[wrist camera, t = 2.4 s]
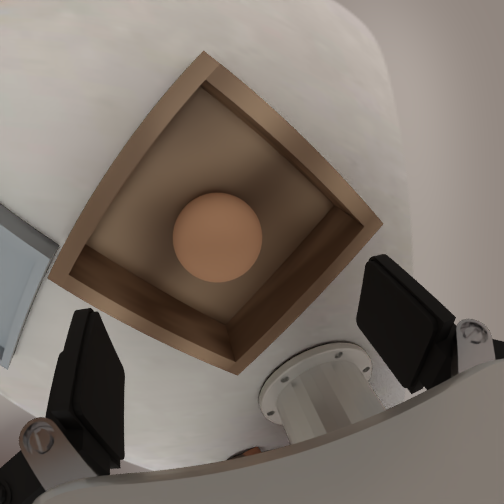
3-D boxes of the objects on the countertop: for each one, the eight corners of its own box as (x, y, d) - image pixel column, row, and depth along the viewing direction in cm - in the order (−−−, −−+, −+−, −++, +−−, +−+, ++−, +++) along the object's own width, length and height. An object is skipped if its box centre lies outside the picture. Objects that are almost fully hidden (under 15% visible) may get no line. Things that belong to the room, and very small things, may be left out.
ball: (266, 213, 20) (293, 246, 16) (217, 270, 21) (231, 314, 17) (205, 166, 18) (217, 188, 14) (156, 230, 19) (153, 269, 15)
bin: (348, 200, 22) (383, 223, 18) (226, 334, 25) (237, 375, 21) (196, 63, 16) (203, 50, 12) (68, 243, 18) (47, 278, 15)
